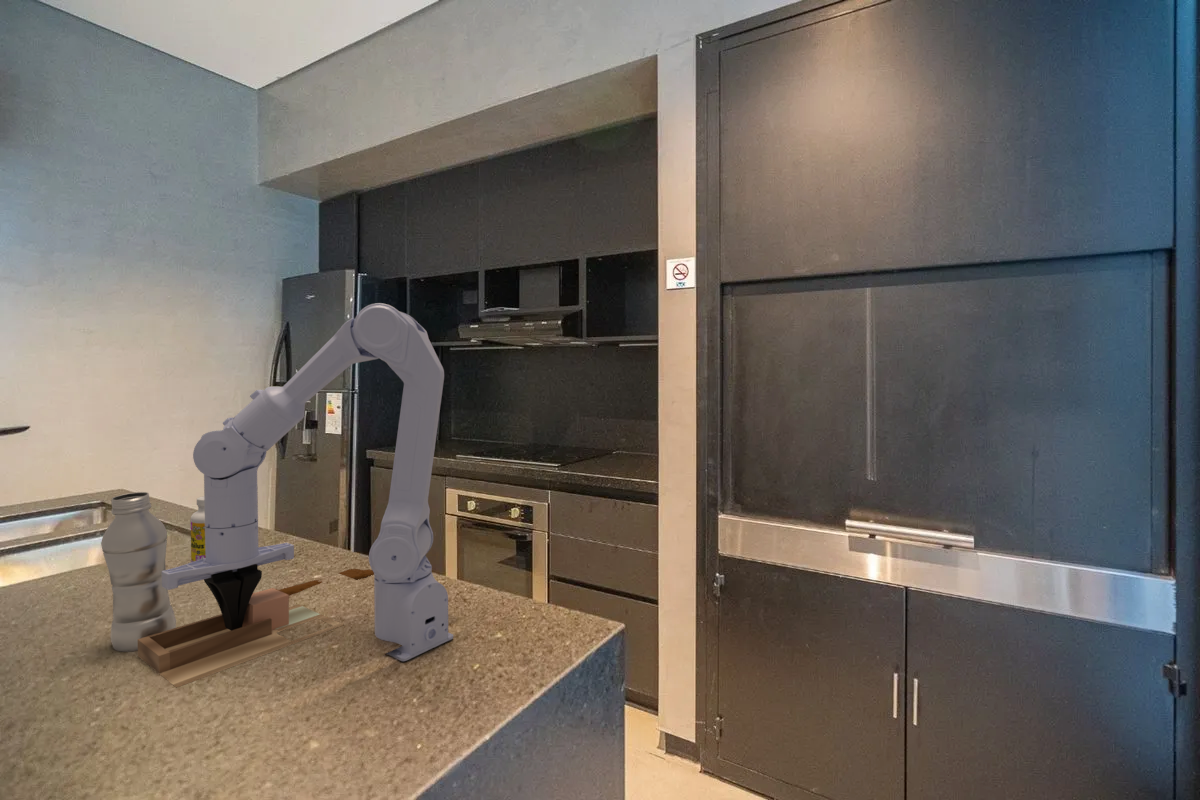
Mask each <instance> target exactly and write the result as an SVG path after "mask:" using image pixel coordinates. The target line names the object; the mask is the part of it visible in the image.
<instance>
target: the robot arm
mask: <svg viewBox="0 0 1200 800" xmlns="http://www.w3.org/2000/svg"><path fill="white" fill-rule="evenodd" d="M378 359H380V360H381V361H383V362H385V363H386V364H387V365H388V366H389V368H390V369H391V371H393V372H394V373H395V374H396V376H397V377H399V379H400V380H401V382H402V383H403V390H402V396H401V402H400V403H401V404H400V405H401V406H400V410H399V411H400V413H399V418H398V429H397V436H396V441H395V451H394V458H393V465H392V466H393V467H392V474H391V480H390V489H389V496H388V503H387V505H386V508H385V511H384V514H383V517H382V519H381V522H380V530H379V532H378V536H377V538H376V539H375V540H374V542H373V543H371V544H372V545H371V547H370V549H369V553H368V564H369V566H370V570H373V572H374V574H373V577H374V579H373V583H374V587H373V588H374V590H373V593H374V636H375V637H376V638H377V639H378V640H381V641H386V642H391V643H395V644H398V645H401V646H399V647H397V648H394V649H393V650H390V651H388V652H386V653H385V655H388V656H390V657H392V658H393V659H394V658H395V659H396V660H399V661H401V662H406V661H409V660H411V659H413V658H415V657H417V656H419V655H421V654H423V653H426V652H428V651H430V650H432V649H433V648H436V647H438V646H440V645H443V644H444V643H446V642H449V641H451V640H453V639H454V634H453V633H451V632H449V595H448V591H447V588H445V586H444V585H443V584H442V583H440V582H439V581H437V580H436V578H435V577H434V574H433V572H432V571H433V569H432V568H433V567H432V564H431V562H430V560H429V559H428V557H427V554H428V553H429V551H431V548H432V546H433V543H434V532H433V529H432V527H431V524H430V512H431V509H430V505H429V495H430V488H431V487H430V486H431V479H432V472H433V471H432V470H433V463H434V458H435V457H434V456H435V450H436V441H437V434H438V426H439V419H440V412H441V411H440V410H441V404H442V396H443V388H444V381H445V369H444V367H443V365H442V363H441V361H440V359H439V356H438V355H437V353H436V351H435V349H434V346H433V345H432V342H431V341H430V339H429V335H428V332H427V330H426V329H425V328H424V327H423V326H422V325H421V324H420V323H418V321H417V320H416V319H415V318H414V317H413V316H411V315H409V314H408V313H405V312H403V311H399V310H398V309H397V308H395V307H394V306H392V305H390V304H386V303H382V302H377V303H371V304H368V305H366V306H365V307H363V308H362V309H360V311H359V312H358V313H357V315H356V316H355V317H352V318H350V319H348V320H347V321H345V322H344V323H343V324H342V325H341V327H340V328H339V329H338V330H337V331H336V333H334V334H333V336H332V337H331V338H330V339H329V340H328V341H327V342H326V343H325V344H324V345H323V346H322V347H321V348H320V349H319V350H318V351H317V352H316V353H315V354H313V356H312V357H311V358H310V359H308V361H307V362H306V363H305V364H304V365H303V366H301V368H300V369H299V370H298V371H297V372H296V373H294V375H293V376H292V377H291V378H290V379H289V380H288V381H287V382H286V383H285V384H283V386H267V387H265V389H256V390H254V392H253V393H251V395H250V396H249V398H250V399H252V400H251V401H250V402H249V403H248V404H247V405H246V406H244V407H243V408H242V409H241V410H240V411H239V412H238V413H237V414H235V416H234V417H232V416H231V417H227V418H225V420H224V421H222V424H223V429H222V430H221V429H220V430H219V429H218V430H212V431H211V430H210V431H208V432H206V433H204V434H202V435H201V437H200V439H199V440H198V441H197V442H196V443H195V446H194V448H193V452H192V456H193V457H192V459H193V462H194V465H195V467H196V468H197V471H200V473H201V474H203V491H204V493H203V496H204V506H205V553H206V558H203V559H200V560H197V561H194V562H191V561H190V562H189V563H185V564H182V565H179V566H176V567H172V568H169V569H166V570H164V571H162V587H164V588H165V589H167V590H168V591H170V590H176V589H177V588H179V586H184V585H186V584H190V583H191V584H192V583H194V582H198V581H204V584H206V586H207V587H208V589H209V590H210V592H211V593H212V595H213V596H214V598H215V600H216V602H217V604H218V608H219V611H220V612H221V614H222V616H223V619H224V623H225V627H226V628H227V629H229V630H231V631H232V630H235V629H238V628H241V627H242V626H243V621H244V617H245V613H246V610H247V607H248V604H249V601H250V599H251V596H252V594H253V593H255V590H256V588H257V586H258V585H259V582H260V581H261V580H262V578H263V577H262V576H263V575H262V574H263V571H262V570H261V569H259V568H258V567H259V566H260V567H261V566H263V565H267V564H271V563H274V562H280V561H283V560H285V561H289V560H294V558H295V547H294V546H295V545H294V544H292V543H290V542H289V543H288V542H284V543H277V544H273V545H266V546H265V545H264V546H259V505H258V504H259V503H258V498H259V497H258V493H259V492H258V470H259V467H260V466H261V465H262V464H263V462H264V461H265V459H266V457H267V456H266V455H267V452H268V451H269V450H270V449H271V448H273V446H274V445H276V444H277V443H278V442H279V441H280V440H281V439H282V438H284V436H286V435H287V434H288V432H290V431H291V430H292V429H293V428H294V427H295V426H297V425H298V424H299V423H300V422H301V421H302V420H303V419H304V417H305V411H306V410H305V408H306V406H305V405H306V403H307V402H308V401H310V400H311V399H312V398H313V397H314V396H315V395H317V394H318V393H319V392H321V390H322V389H324V388H325V387H326V386H327V385H328V384H330V383H332V381H333V380H334V379H335V378H337V377H338V376H339V375H341V374H342V373H343V372H344V371H345V370H346V369H348V368H349V367H350V366H352V365H354V364H358V363H362V362H363V363H364V362H369V361H375V360H378Z"/></svg>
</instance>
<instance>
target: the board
mask: <svg viewBox="0 0 1200 800" xmlns="http://www.w3.org/2000/svg"><path fill="white" fill-rule="evenodd" d="M314 620H320V621H321V622H324V623H325V624H328V625H330V626H328V627H325V628H322V629H320V630H318V631H315V632H312V633H310V634H306V635H304V636H301V637H298V638H296V639H293V640H290V639H288V638H286V637H284V636H283V635H281V634H278V633H281V632H282V631H286V630H289V629H291V628H294V627H298V626H300V625H304V624H306V623H308V622H312V621H314ZM343 626H344V624H343V623H341V622H339V621H336V620H334V619H332V618H331V617H330V618H329V617H327V616H325V615H323V614H321V613H318V612H316V611H314V610H312V609H309V608H307V607H306V606H304V605H301V604H296V605H292V606H289V624H288V625H285V626H282V627H279V628H276V629H273V630H272V619H270V618H269V619H266V620H262V621H259V622H256V623H253V624H250V625H247V626H244V627H241V628H238V629H235V630H232V631H231V630H229V629H227V628H226V627H225V623H224V619H223V616H222V613H221V614H218V615H214V616H210V617H208V618H204V619H200V620H197V621H194V622H191V623H187V624H184V625H181V626H177V627H176V628H174V629H170V630H167V631H164V632H160V633H157V634H154V635H150V636H147V637H144V638H140V639H138V650H137V657H138V658H140V659H141V660H142V661H143V662H144V663H145V664H147V665H148V666H149V667H150V668H151V669H153V670H154V671H155V672H156V673H158V674H159V675H160V676H161V677H162V678H164V679H165V680H166V681H167V682H169V684H170V685H172V686H173V687H175V688H176V689H178V688H180V687H183V686H186V685H189V684H190V683H193V682H195V681H199V680H202V679H204V678H207V677H210V676H213V675H215V674H218V673H220V672H223V671H227V670H228V669H230V668H234V667H236V666H239V665H242V664H244V663H247V662H251V661H252V660H255V659H258V658H260V657H263V656H266V655H268V654H271V653H273V652H276V651H279V650H282V649H284V648H288V647H289V646H293V645H295V644H298V643H300V642H303V641H306V640H308V639H311V638H314V637H317V636H319V635H322V634H324V633H327V632H330V631H333V630H335V629H338V628H340V627H343Z"/></svg>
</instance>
